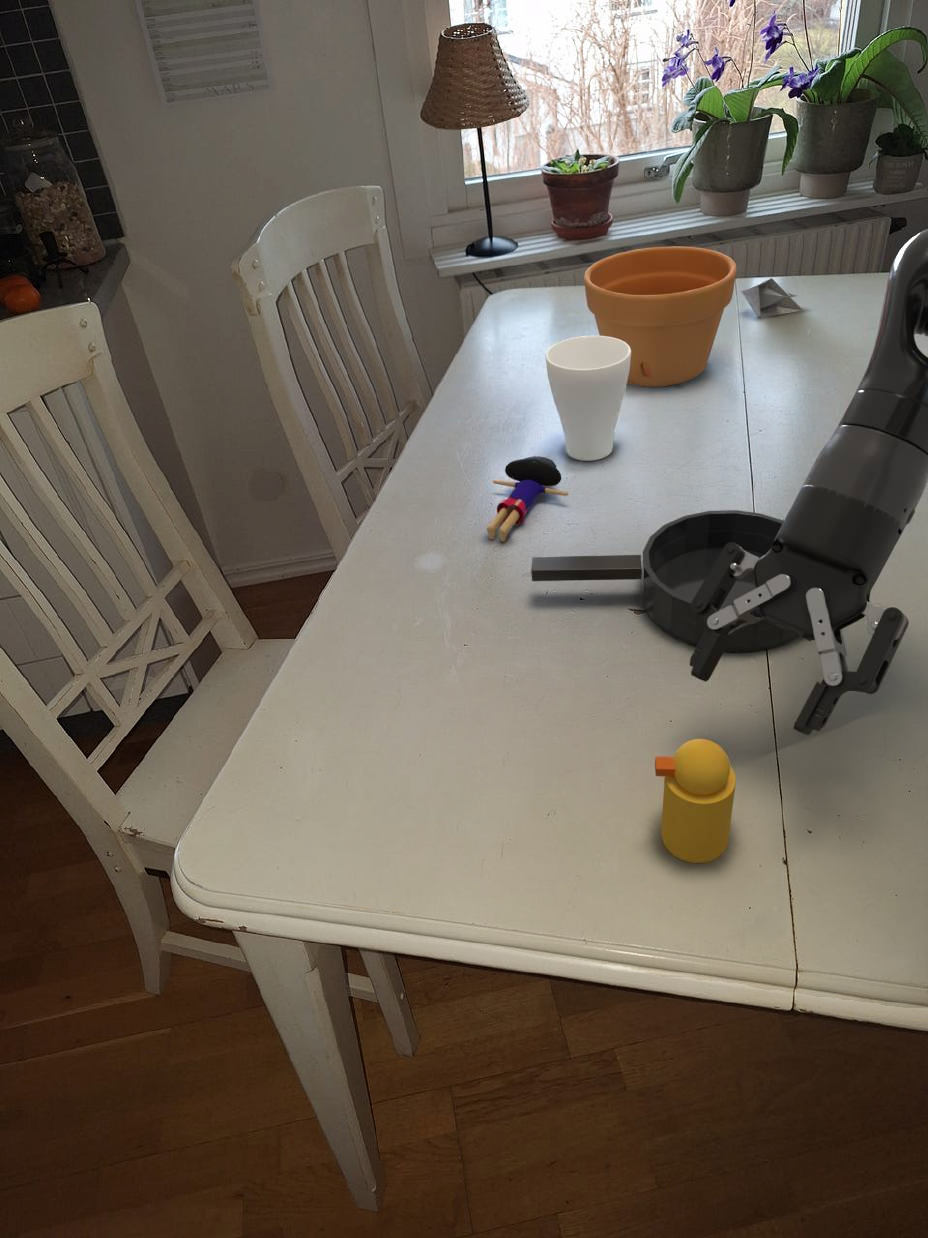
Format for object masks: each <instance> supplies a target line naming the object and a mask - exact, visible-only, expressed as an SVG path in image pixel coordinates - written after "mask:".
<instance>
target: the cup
mask: <svg viewBox="0 0 928 1238" xmlns="http://www.w3.org/2000/svg"><path fill="white" fill-rule="evenodd" d="M544 355H545V363H546V364H545V365H546V371H547V372H546V373H547V379H548V381H549V382H548V383H549V386H550V387H549V388H550V392H551V395H552V399H553V402H554V405H555V409H556V412H557V414H558V416H559V421H560V424H561V428H562V431H563V435H564V443H565V449H566V454H567V455H568V456H569V457H571V458H572V459H575V460H578V461H585V462H593V461H598V460H601V459H605V458H607V457H608V456H609V455H610V454H611V453H612V451H613V448H614V439H615V430H616V426H617V422H618V418H619V413H620V410H621V407H622V404H623V400H624V398H625V397H624V396H625V395H626V394H625V393H626V388H627V384H628V383H627V380H628V375H629V370H630V359H631V349H630V346H629V345H628V344H627V343H626V342H624V341H622V340H620V339H616V338H612V337H607V336H600V335H581V336H580V335H579V336H575V337H570V338H567V339H563V340H560V341H558V342H556V343H554V344H552V345H551V346H550V347H549V348H548V349H547V351H546V352H545V354H544Z"/></svg>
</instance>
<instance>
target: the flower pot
mask: <svg viewBox="0 0 928 1238" xmlns="http://www.w3.org/2000/svg"><path fill="white" fill-rule="evenodd" d="M737 271H738V270H737V264H736V262H735V261H734V260H733V258H731V257H730V256H728V255H726V254H724V253H722V252H719V251H717V250H712V249H707V248H703V247H695V246H680V245H679V246H675V245H674V246H673V245H672V246H654V247H646V248H638V249H632V250H628V251H623V252H619V253H616V254H613V255H610V256H609V255H608V256H606V257H605V258H602V259H600V260H598V261H596V262H595V263H592V265H590V266H589V267H588V268H587V269H586V271H585V272H584V276H583V282H584V292H585V299H586V305H587V308H588V310H589V311H590V313H592V314H593V316H594V319H595V324H596V327H597V331H598V334H599V335H598V336H607V337H612V338H616V339H620V340H622V341H624V342H626V343H627V344H628V345H629V346H630V349H631V359H630V370H629V375H628V380H627V384H629V385H633V386H637V387H650V388H652V387H653V388H655V387H669V386H675V385H680V384H683V383H686V382H689V381H691V380H694V379H695V378H697V377H698V376H700V375H701V374H702V373H703V372H704V370H705V369H706V368H707V364H708V361H709V358H710V355H711V352H712V349H713V346H714V343H715V339H716V336H717V333H718V329H719V327H720V324H721V321H722V317H723V314H724V310H725V308H726V307H727V306H729V304H730V303H731V301H732V299H733V295H734V290H735V283H736V275H737Z"/></svg>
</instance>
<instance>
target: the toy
mask: <svg viewBox="0 0 928 1238" xmlns="http://www.w3.org/2000/svg"><path fill="white" fill-rule="evenodd" d="M504 471H505V475H506V476H507V477H508V478H509V479H511V480H514V481H505V480H499V479H493V480H492V483H493V484H495V485H500V486H506V487H511V488H514V489H513V490H512V491H511V493H510V494H509V496H508V497H507V498H505V499H503V500H502V501H500V502H499V503H498V504H497V505H496V513H497V514H496V515H495V516H494V517H493V519H492V520H491V521H490V523H489V524H488V526H487V528H486V531H487V535H488V539H489V540H494V539H495V536H496V532H497V530H498V536H499V540H500V541H501V542H503V543H504V542H506V541H507V535H508V534H509V532H510V531H511V529H512V528H513V527H514V525H516V526H520V525H522V524H523V522H524V520H525V518H526V513H527V511H528V510H529V508H530V507H531V506H532V505H533V503H534V502H535V500H536V499H537V498H538V497H539V496H540V495H541V494H552V495H559V496H563V497H564V496H565V497H567V496H569V494H570V493H569V492H568V491H563V490H559V489H553V488H550V487H554V486H555V487H556V486H557V485H559V484H560V483H561V481H562V473H561V472H560V471H559V469H558V468H557V464H556V463H555V462H554V460H553V459H551V458H549V457H545V456H537V455H533V456H529V457H524V458H520V459H516V460H512V461H510V462H509V463H508V464H506V466H505V468H504ZM515 481H516V482H515ZM498 528H499V529H498Z"/></svg>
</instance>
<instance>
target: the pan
mask: <svg viewBox="0 0 928 1238" xmlns="http://www.w3.org/2000/svg"><path fill="white" fill-rule="evenodd" d="M783 522H784V520H783V519H780V518H776V517H773V516H770V515H768V514H764V513H759V512H752V511H745V510H738V509H727V510H725V509H724V510H722V509H721V510H705V511H702V512H697V513H692V514H686V515H683V516H680V517H679V518H676V519H674V520H672V521H670V522H667V523H665V524H663V525H662V526H661V527H660V528H658V529H657V530H656V531H655V532H653V533H652V534H651V535H650V536H649V538H648V540H647V541H646V543H645V546H644V548H643V550H642V557H641V566H642V575H641V594H642V595H641V599H642V604H643V605H642V606H643V607H644V609H645V612H646V614H647V615H648V616H649V618H650V619H651V621H653V623H654V624H655V625H656V626H657V627H659V628H660V629H661V630H662V631H664V632H665V633H666V634H668V635H670V637H672V638H675V639H677V640H678V641H681V642H683V643H686V644H688V645H691V646H694V647H697V644H698V643H699V641H700V639H701V637H702V635H703V633H704V631H705V628H706V625H705V622H704V620H703V619H702V618H701V617H700V616H699V615H698V614H697V613H696V612H695V611H693V610H692V608H691V603H692V601H693V599H694V597H695V595H696V594H697V592H698V590H699V589H700V587H701V585H702V584H703V582H704V580H705V578H706V577H707V575H708V573H709V572H710V570H711V568H712V567H713V565H714V563H715V561H716V560H717V558H718V556H719V555H720V553H721V551H722V550H723V548H724V546H725V545H726V544H727V543H730V542H734V543H736V544H737V545H739V546H740V547H741V548H742V549H744V550H745V551H746V552H748V553H750V554H752V555H755V556H757V557H759V558H761V557H763V556H764V555H765V554H766V553H767V552H768V551H769V550H770V549H771V547H772V545H773V543H774V540H775V538H776V535H777V533H778V532H779V530H780V528H781V526H782V524H783ZM754 589H756V585H755V578H754V571H751V572H749V573H748V574H747V575H746V576H745V577H744V578H741V579H737V580H736V582H735V584H734V586H733V587H732V589H731V591H730V592H729V594H728V596H727V597H726V599H725V601H724V602H723V604H722V606H721V607H720V609H719V611H720V610H721V609H723V608H725V607H727V606H729V605H731V604H732V602H733V601H734V600H735V599H737V598H739V597H741V596H743V595H745V594H747V593H748V592H750V591H752V590H754ZM749 603H750V602H749ZM798 637H799V636H798V635H797V634H795V633H794V632H792V631H791V630H788V629H782V628H779V627H777V626H775V625H773V624H771V623H769V622H768V621H766V620H765V619H763V620H761V621H759V622H757V623H754V624H749V625H746V626H744V627H743V628H741V629H739V630H737V631H735V632H733V633H731V634H729V635H727V637H726V638H728V639H729V640H730V641H729V643H728V644H727V646H726V648H725V650H724V652H723V653H725V652H726V653H751V652H759V651H764V650H765V651H766V650H769V649H774V648H776V647H779V646H782V645H785V644H787V643H789V642H791V641H793V640H795V639H796V638H798Z"/></svg>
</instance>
